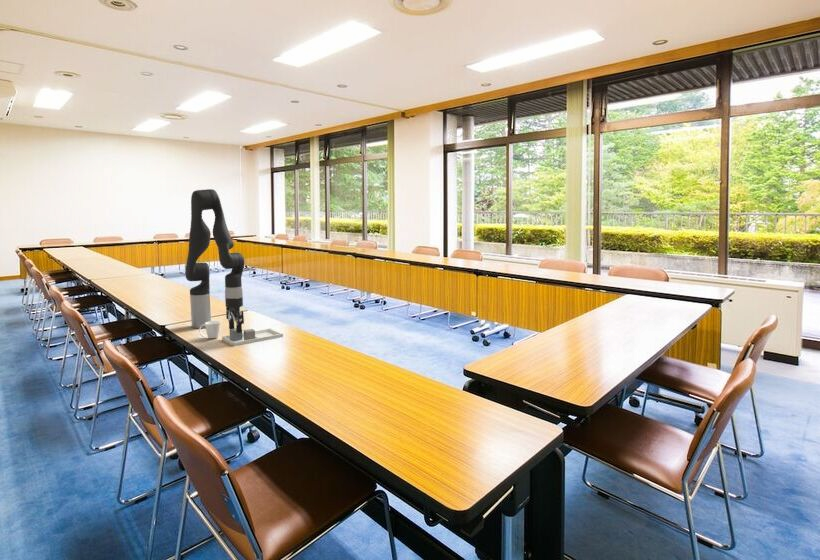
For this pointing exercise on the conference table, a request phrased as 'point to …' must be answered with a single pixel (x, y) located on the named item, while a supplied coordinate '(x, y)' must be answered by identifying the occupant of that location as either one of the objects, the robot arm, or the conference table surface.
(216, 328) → the cup
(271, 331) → the divided tray
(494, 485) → the conference table surface
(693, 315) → the conference table surface
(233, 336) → the matte grey cube
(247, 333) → the stone
